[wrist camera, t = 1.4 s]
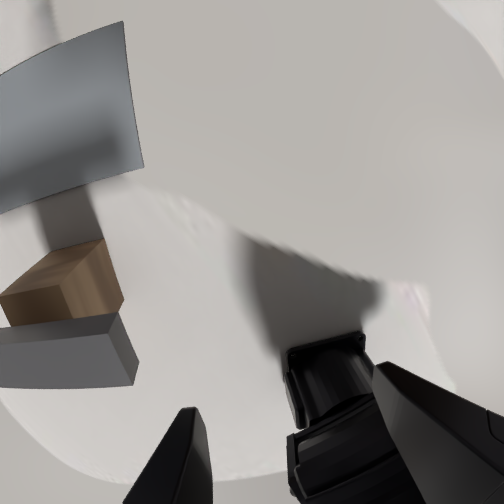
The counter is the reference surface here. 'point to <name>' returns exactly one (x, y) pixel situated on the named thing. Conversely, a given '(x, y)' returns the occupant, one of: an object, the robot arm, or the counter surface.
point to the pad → (67, 118)
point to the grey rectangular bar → (68, 354)
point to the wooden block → (64, 287)
